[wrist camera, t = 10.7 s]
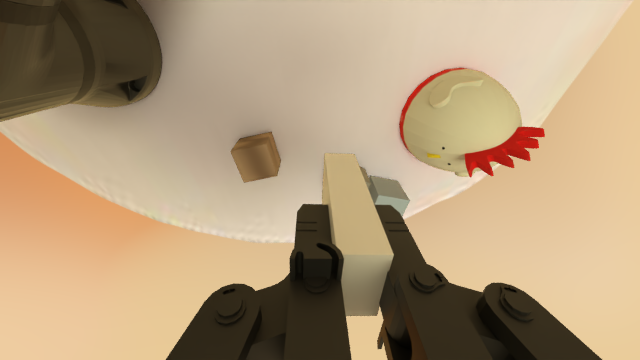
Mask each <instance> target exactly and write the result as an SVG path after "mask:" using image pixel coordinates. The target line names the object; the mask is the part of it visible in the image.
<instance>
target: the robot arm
mask: <svg viewBox="0 0 640 360" xmlns="http://www.w3.org/2000/svg"><path fill="white" fill-rule="evenodd" d="M160 73H161V51H160V46H159V42H158V38H157V36H156V33H155V30H154V28H153V26H152V24H151V22H150V20H149V18H148V17H147V15H146V13H145V12H144V10H143V9H142V8H141V6H140V5H139V4H138V2H137V1H136V0H0V122H1V121H5V120H9V119H13V118H16V117H20V116H24V115H28V114H31V113H35V112H39V111H43V110H47V109H50V108H54V107H58V106H61V105H65V104H80V105H90V106H100V107H118V106H124V105H127V104H130V103H133V102H136V101H139V100H141V99H143V98H144V97H146V96H147V95H148V94H149V93H150V92H151V91H152V90H153V89H154V87H155V86H156V84H157V82H158V80H159V77H160ZM379 307H380V308H381V312H382V315H383V319H384V321H383V324H382V327H381V331H380V334H379V337H378V340H377V342H378V343H377V344H378V349H381V348H382V345H383V342H384V346H385V350H386V355H387V358H388V360H602V359H601V358H600V357H599V356H597V355H596V354H595V353H594V352H593V351H592V350H591V349H590V348H589V347H587V346H586V345H585V344H584V343H583V342H582V341H581V340H580V339H578V338H577V337H576V336H575V335H574V334H573V333H572V332H571V331H569V330H568V329H567V328H566V327H565V326H564V325H563V324H562V323H560V322H559V321H558V320H557V319H556V318H555V317H554V316H553V315H551V314H550V313H549V312H548V311H547V310H546V309H545V308H544V307H543V306H541V305H540V304H539V303H538V302H537V301H536V300H535V299H533V298H532V297H531V296H529V295H528V294H526V293H525V292H524V291H522V290H520V289H518V288H516V287H514V286H511V285H507V284H504V283H491V284H490V285H488V286H486V287H485V289H484V291H483V292H479V291H475V290H472V289H468V288H464V287H461V286H457V285H454V284H451V283H449V282H448V280H447V279H446V278H445V277H444V276H443V274H442V273H441V272H440V271H438V270H437V269H436V268H434V267H433V266H430V265H428V264H426V262H425V260H424V258H423V256H422V254H421V252H420V250H419V249H418V247H417V245H416V243H415V241H414V239H413V237H412V235H411V233H410V232H409V229H408V227H407V226H406V224H405V222H404V220H403V218H402V216H401V214H400V213H399V212H398V211H397V210H396V209H395V208H394V207H393V206H391V205H374V203H373V200H372V198H371V195H370V193H369V190H368V188H367V185H366V182H365V180H364V177H363V175H362V172H361V170H360V167H359V164H358V162H357V159H356V157H355V154H331V153H325V156H324V173H323V190H322V204H303V205H302V206H301V208H300V209H299V210H298V212H297V221H296V234H295V246H294V250H293V251H292V253H291V256H290V273H289V274H288V276H287V277H286V278H285V279H284V280H282V281H281V282H279V283H278V284H275V285H273V286H271V287H267V288H264V289H261V290H258V291H255V290H254V289H253V288H252V287H250V286H247V285H245V284H231V285H227V286H224V287H222V288H220V289H219V290H217V291H215V292H214V293H212V295H211V296H210V297H209V298H208V299H207V300H206V301H205V302H204V304H203V305H202V307H201V308H200V310H199V311H198V313H197V314H196V316H195V317H194V319H193V320H192V321H191V323H190V325H189V326H188V327H187V329H186V330H185V332H184V333H183V335H182V336H181V338H180V339H179V341H178V342H177V344H176V345H175V347H174V348H173V350H172V351H171V353H170V354H169V356H168V357H167V359H166V360H351V353H350V345H349V338H348V329H347V322H346V316H377V314H378V310H379Z"/></svg>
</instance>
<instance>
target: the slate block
mask: <svg viewBox="0 0 640 360" xmlns="http://www.w3.org/2000/svg"><path fill="white" fill-rule="evenodd" d="M369 180H370V183H371V185H370V186H369V188H368V190H369V193H370V195H371V198H372V200H373V203H374V205H391V206H393V207H394V208H395V209H396V210H397V211H398V212H399V213H400V214H401V216H403V214H404V212H405V210H406V208H407V206H408V203H409V201H410V200H409V198H408V197H407V195H406V193H405V192H404V190H403V189H402V187H401V186H400V184H399V182H398V181H396V180H390V179H385V178H380V177H375V176H370V177H369Z"/></svg>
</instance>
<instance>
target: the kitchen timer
mask: <svg viewBox="0 0 640 360" xmlns="http://www.w3.org/2000/svg"><path fill="white" fill-rule="evenodd" d="M399 125H400V135H401V138H402V140H403V143H404V145H405V147H406V148H407V149H408V150H409V151H410V152H411V153H412V154H413V155H414V156H415V157H416V158H417V159H418V160H420V161H422V162H424V163H426V164H428V165H430V166H432V167H435V168H438V169H441V170H445V171H451V172H455V174H456V175H457V176H461V177H466V176H470V177H472V175H473V174H474V173H475V171H480V170H483V171H484V172H486V173H487V174H489V175H491V176H493V171H492V166H494V165H496V164H498V163H499V164H502V165H505V166H508V167H511V168H514V164H513V160H512V159H511V158H510V157H509V156H508V155H510V156H514V157H517V158H520V159H524V160H527V161H530V154H529V152H528V151H527V150H526V149H524V148H539V144H538V140H537V139H534V138H529V137H544V136H545V134H544V129H543V128H535V127H522V121H521V115H520V110H519V107H518V105H517V103H516V102H515V100H514V99H513V97H512V96H511V94H510V93H509V92H508V91H507V90H506V88H504V87H503V86H502V85H501V84H500V83H499V82H498V81H496V80H495V79H493V78H492V77H490V76H489V75H487V74H485V73H483V72H480V71H475V70H470V69H465V68H454V69H447V70H444V71H441V72H439V73H437V74H434V75H432V76H430V77H429V78H428V79H426V80H425V81H424V82H422V83H421V84H420V85H419V86H418V87H417V88H416V89H415V90H414V92H413V93H412V94H411V95H410V96H409V98H408V100H407V102H406V104H405V106H404V108H403V110H402V114H401V119H400V124H399Z"/></svg>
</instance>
